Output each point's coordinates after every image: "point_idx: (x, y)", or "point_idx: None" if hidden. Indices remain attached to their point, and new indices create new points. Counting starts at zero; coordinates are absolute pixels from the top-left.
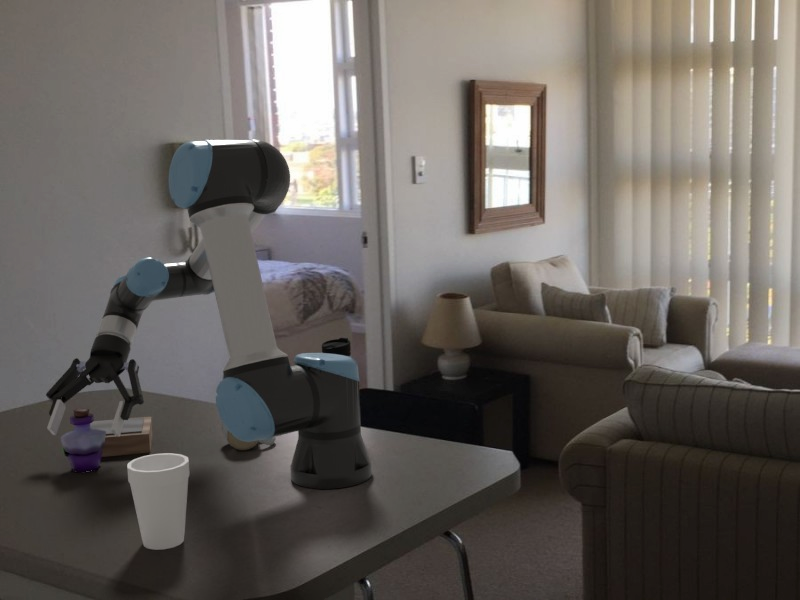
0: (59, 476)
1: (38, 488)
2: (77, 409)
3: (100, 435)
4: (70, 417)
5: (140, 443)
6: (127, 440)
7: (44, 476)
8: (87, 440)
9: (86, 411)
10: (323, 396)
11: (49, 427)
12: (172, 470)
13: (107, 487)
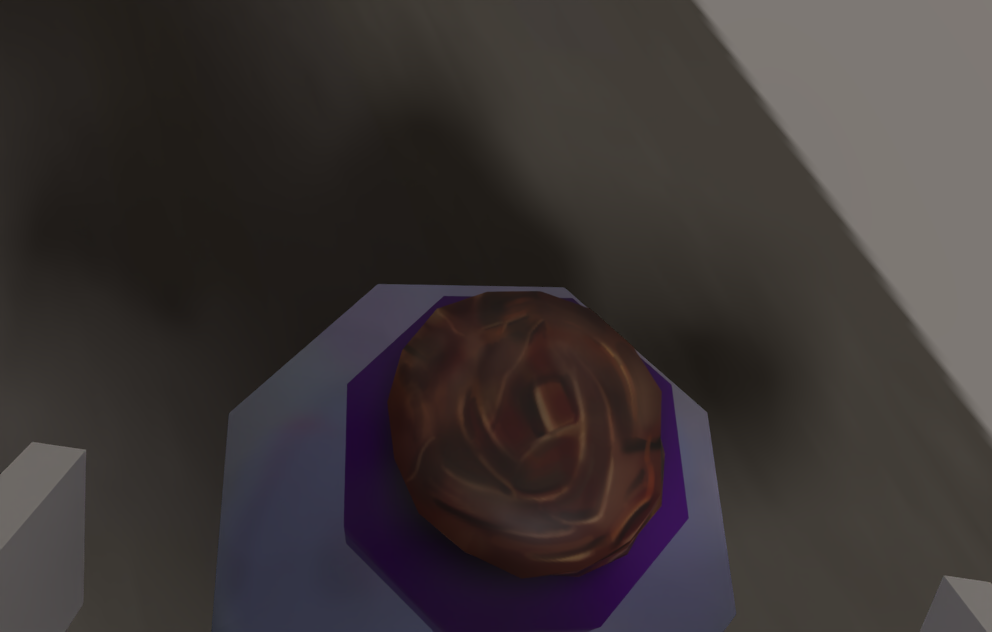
0: None
1: (612, 162)
2: (598, 406)
3: (239, 444)
4: (661, 382)
5: None
6: None
7: (697, 393)
8: (354, 310)
9: (409, 346)
10: None
11: (964, 587)
12: None
13: (138, 138)
